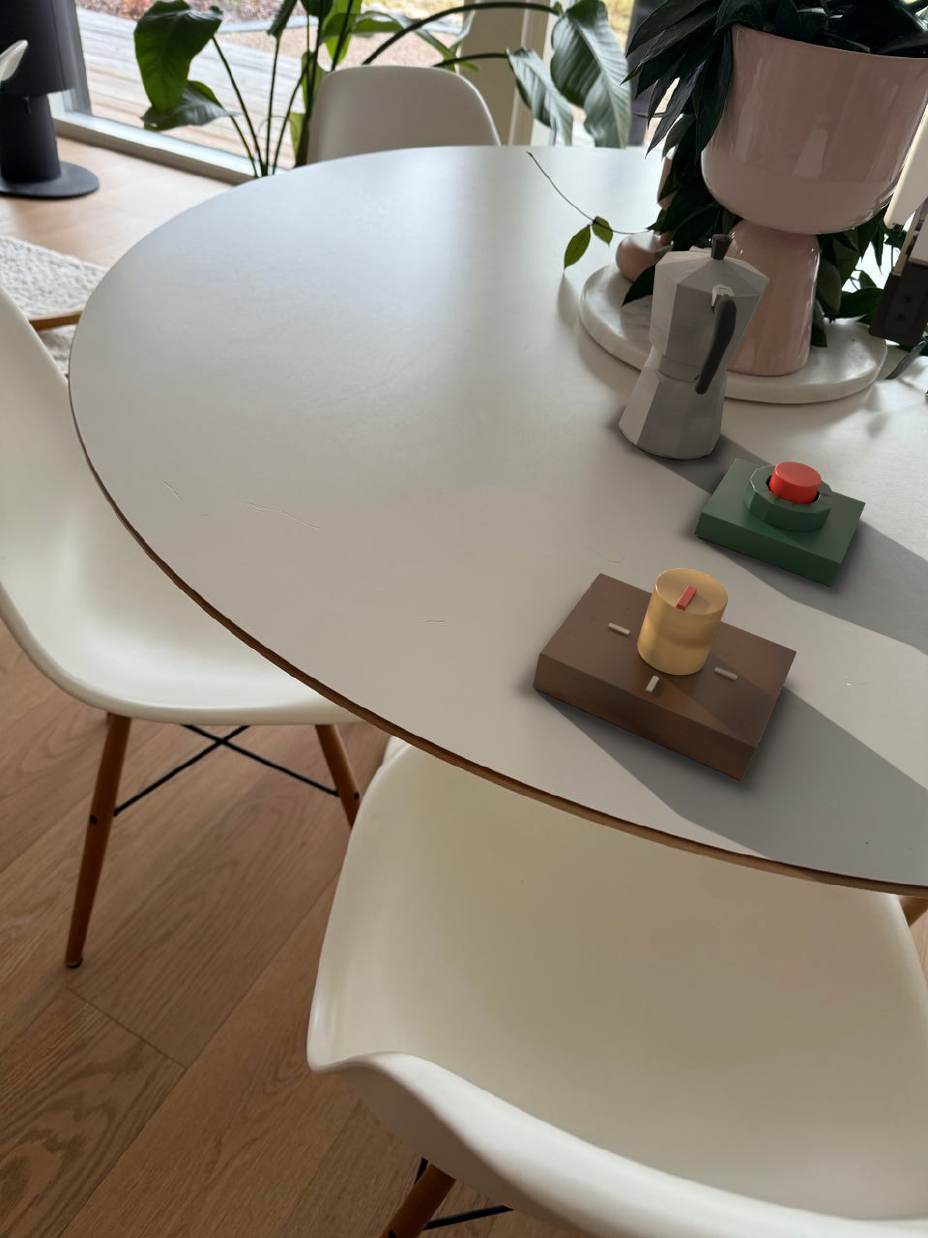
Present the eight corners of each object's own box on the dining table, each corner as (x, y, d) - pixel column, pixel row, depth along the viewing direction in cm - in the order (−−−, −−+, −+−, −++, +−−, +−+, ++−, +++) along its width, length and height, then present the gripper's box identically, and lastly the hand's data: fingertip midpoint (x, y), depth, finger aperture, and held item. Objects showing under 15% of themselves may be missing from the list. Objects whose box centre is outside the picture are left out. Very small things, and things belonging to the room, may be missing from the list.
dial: (651, 619, 66) (671, 555, 62) (714, 646, 64) (738, 581, 61) (626, 656, 63) (646, 591, 59) (692, 685, 61) (716, 620, 58)
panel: (782, 684, 67) (798, 649, 65) (742, 781, 60) (757, 745, 58) (590, 604, 71) (599, 569, 69) (531, 687, 64) (539, 651, 62)
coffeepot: (611, 392, 96) (656, 199, 84) (708, 404, 96) (766, 213, 85) (624, 480, 84) (678, 270, 72) (734, 493, 84) (805, 286, 73)
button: (818, 490, 79) (826, 471, 78) (808, 511, 77) (816, 492, 76) (774, 474, 81) (781, 456, 79) (763, 494, 78) (770, 475, 77)
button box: (856, 524, 83) (874, 483, 80) (830, 586, 76) (849, 544, 73) (729, 479, 86) (742, 438, 84) (693, 534, 79) (707, 492, 77)
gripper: (965, -14, 60) (857, 288, 71) (930, 7, 49) (810, 359, 60) (1100, 9, 57) (966, 317, 69) (1095, 36, 47) (937, 396, 58)
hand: (893, 336), depth 65 cm, fingers closed
